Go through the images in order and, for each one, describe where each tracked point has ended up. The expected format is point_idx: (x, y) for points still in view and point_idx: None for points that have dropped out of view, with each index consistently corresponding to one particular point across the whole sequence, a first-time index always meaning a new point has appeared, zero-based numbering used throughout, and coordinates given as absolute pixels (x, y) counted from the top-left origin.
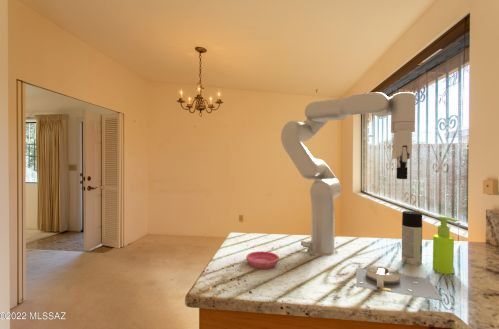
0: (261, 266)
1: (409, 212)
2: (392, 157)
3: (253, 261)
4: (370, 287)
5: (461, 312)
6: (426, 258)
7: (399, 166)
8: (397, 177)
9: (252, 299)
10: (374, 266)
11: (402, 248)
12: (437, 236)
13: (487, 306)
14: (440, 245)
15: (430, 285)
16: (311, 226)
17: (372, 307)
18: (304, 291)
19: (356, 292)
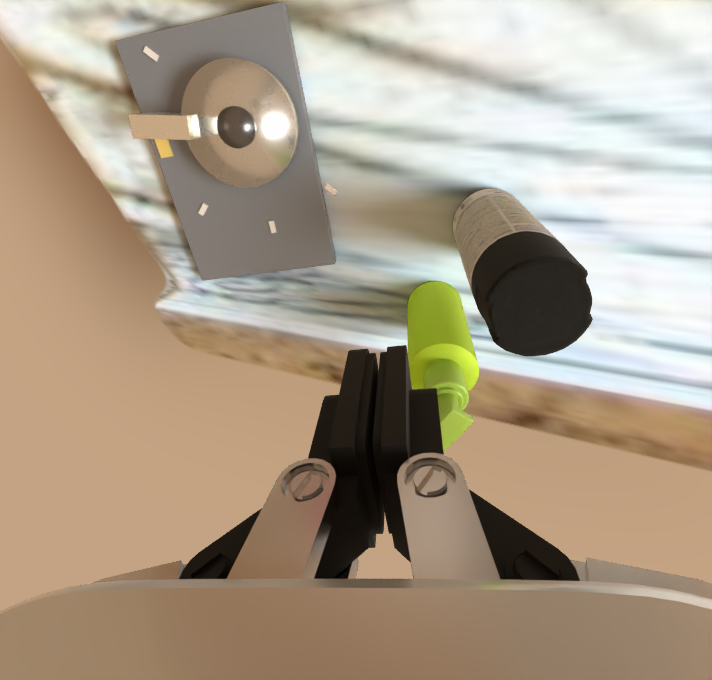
0: None
1: (536, 297)
2: (563, 618)
3: None
4: (142, 90)
5: (194, 305)
6: (587, 277)
7: (281, 488)
8: (347, 358)
9: None
10: (272, 90)
11: (488, 203)
12: (426, 354)
13: (263, 357)
14: (411, 345)
15: (281, 264)
16: None
17: (58, 109)
18: None
19: (109, 44)
